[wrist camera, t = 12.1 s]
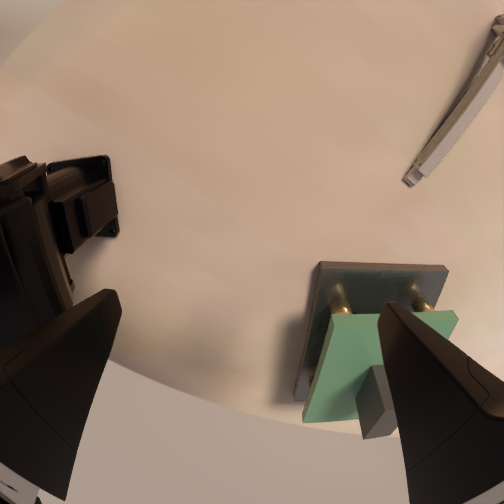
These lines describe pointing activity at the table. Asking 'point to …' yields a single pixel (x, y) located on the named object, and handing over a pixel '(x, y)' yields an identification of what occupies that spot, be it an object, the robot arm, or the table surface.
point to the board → (359, 373)
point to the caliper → (462, 111)
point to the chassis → (363, 300)
